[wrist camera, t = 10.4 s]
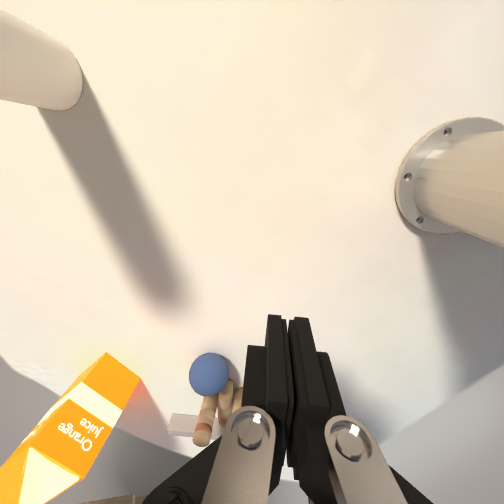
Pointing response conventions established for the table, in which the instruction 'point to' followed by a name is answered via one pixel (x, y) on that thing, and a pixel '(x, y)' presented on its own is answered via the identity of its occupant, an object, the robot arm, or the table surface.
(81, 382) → the orange juice
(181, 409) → the table surface
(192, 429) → the rail
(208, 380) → the ball
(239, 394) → the pin
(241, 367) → the table surface
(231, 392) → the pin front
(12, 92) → the cylindrical container
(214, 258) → the table surface
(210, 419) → the pin
